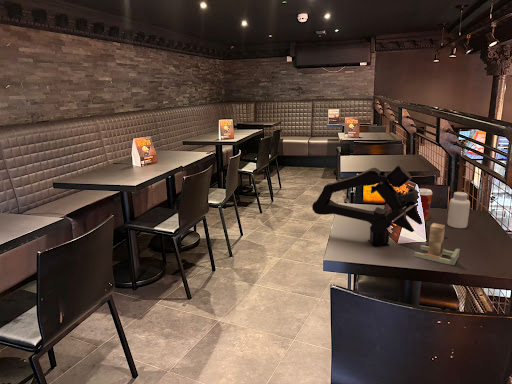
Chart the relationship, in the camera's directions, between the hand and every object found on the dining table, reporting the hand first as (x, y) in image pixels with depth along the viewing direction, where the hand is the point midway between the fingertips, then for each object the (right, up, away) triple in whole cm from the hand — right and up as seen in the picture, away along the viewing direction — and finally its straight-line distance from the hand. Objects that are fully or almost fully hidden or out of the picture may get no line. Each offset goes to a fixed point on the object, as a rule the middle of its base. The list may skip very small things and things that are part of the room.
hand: (417, 227), depth 138 cm
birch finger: (+6, -10, -1) cm, 12 cm away
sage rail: (+6, -10, -1) cm, 12 cm away
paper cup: (+18, +1, +38) cm, 42 cm away
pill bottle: (+30, -2, +27) cm, 40 cm away
